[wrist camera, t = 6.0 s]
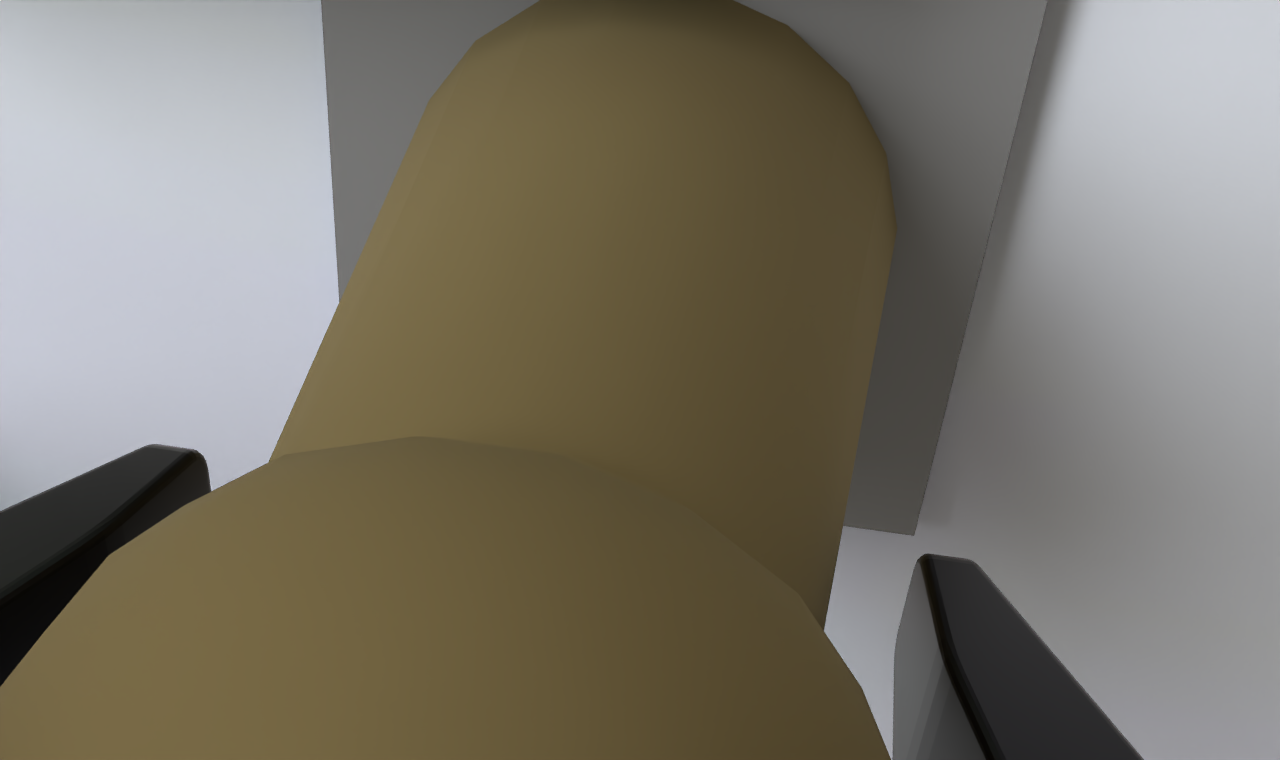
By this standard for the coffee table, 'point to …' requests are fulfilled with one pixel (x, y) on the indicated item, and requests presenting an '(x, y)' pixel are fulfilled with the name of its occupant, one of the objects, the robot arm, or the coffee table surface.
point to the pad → (896, 108)
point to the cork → (538, 438)
